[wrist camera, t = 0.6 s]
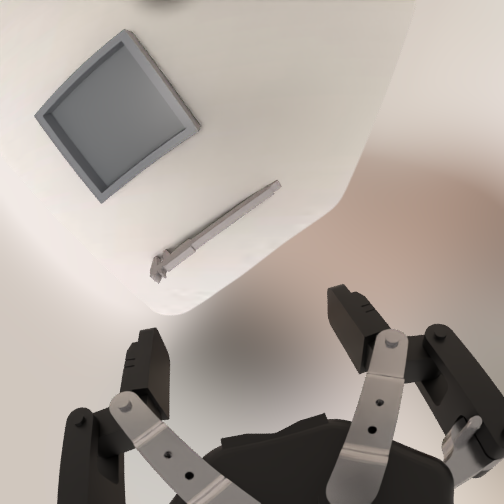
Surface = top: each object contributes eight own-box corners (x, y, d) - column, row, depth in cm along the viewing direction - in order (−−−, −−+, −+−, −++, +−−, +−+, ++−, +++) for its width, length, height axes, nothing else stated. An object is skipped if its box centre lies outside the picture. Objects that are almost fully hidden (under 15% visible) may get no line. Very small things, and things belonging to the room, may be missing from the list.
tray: (46, 111, 29) (33, 116, 26) (132, 32, 25) (124, 28, 23) (109, 194, 36) (101, 203, 34) (200, 126, 33) (198, 131, 30)
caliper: (159, 261, 43) (151, 288, 38) (154, 256, 42) (145, 283, 37) (280, 185, 38) (290, 205, 33) (276, 178, 38) (285, 197, 32)
